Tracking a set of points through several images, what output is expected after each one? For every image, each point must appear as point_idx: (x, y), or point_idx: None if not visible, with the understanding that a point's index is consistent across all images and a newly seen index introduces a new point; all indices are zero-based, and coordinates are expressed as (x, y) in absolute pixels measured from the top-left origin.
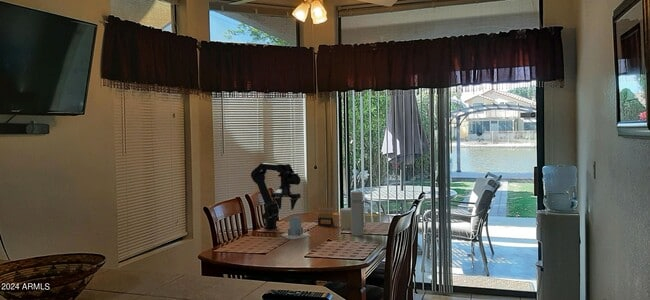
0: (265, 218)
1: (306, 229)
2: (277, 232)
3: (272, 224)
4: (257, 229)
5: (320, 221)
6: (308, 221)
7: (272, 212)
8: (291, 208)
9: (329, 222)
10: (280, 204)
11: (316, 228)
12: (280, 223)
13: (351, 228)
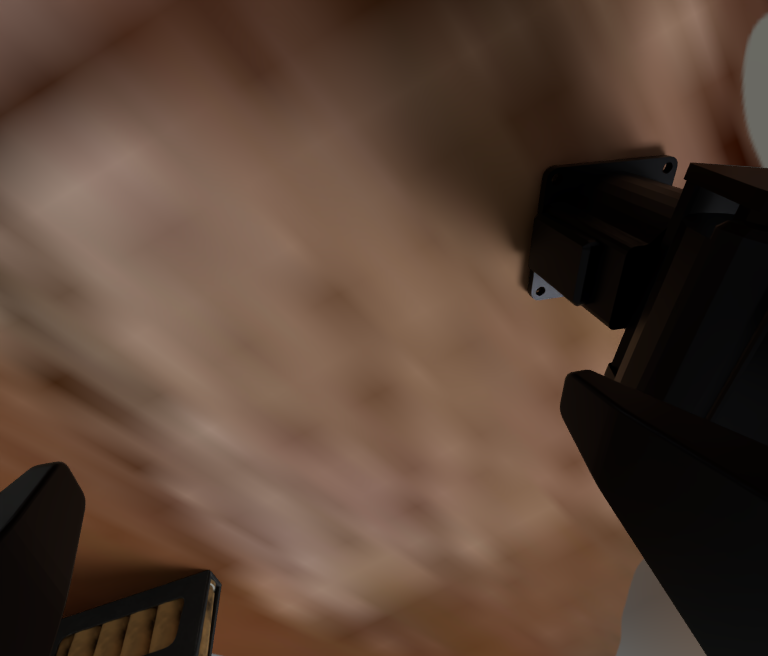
0: (757, 169)
1: (122, 397)
2: (317, 6)
3: (576, 218)
4: (726, 55)
5: (182, 622)
6: (410, 599)
7: (715, 257)
8: (14, 498)
9: (75, 648)
10: (661, 528)
11: None
12: None
13: None
